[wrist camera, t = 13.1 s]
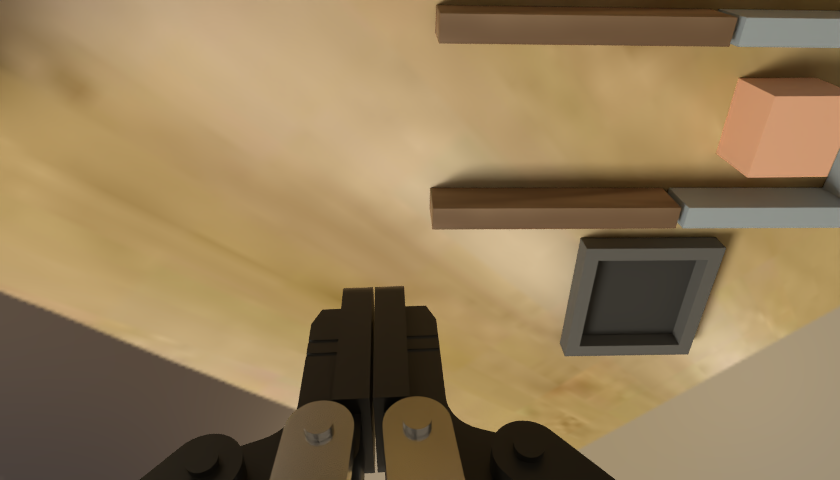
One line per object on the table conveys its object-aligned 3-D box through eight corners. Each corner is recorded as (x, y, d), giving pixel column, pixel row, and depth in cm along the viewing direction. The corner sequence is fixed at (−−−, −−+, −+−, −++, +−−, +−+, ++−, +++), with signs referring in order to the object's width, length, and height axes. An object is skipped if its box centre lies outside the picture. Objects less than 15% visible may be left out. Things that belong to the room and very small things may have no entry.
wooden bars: (436, 5, 31) (440, 13, 29) (710, 8, 32) (737, 17, 30) (429, 207, 38) (432, 229, 35) (656, 207, 39) (675, 228, 36)
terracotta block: (737, 77, 34) (775, 96, 31) (815, 77, 35) (861, 95, 31) (714, 152, 37) (747, 177, 34) (787, 151, 37) (827, 176, 34)
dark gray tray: (580, 238, 40) (587, 249, 39) (715, 237, 40) (726, 248, 39) (560, 343, 45) (564, 356, 44) (679, 341, 45) (688, 354, 44)
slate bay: (718, 9, 32) (747, 17, 30) (923, 11, 33) (968, 20, 30) (663, 207, 39) (682, 228, 36) (834, 206, 39) (865, 227, 37)
